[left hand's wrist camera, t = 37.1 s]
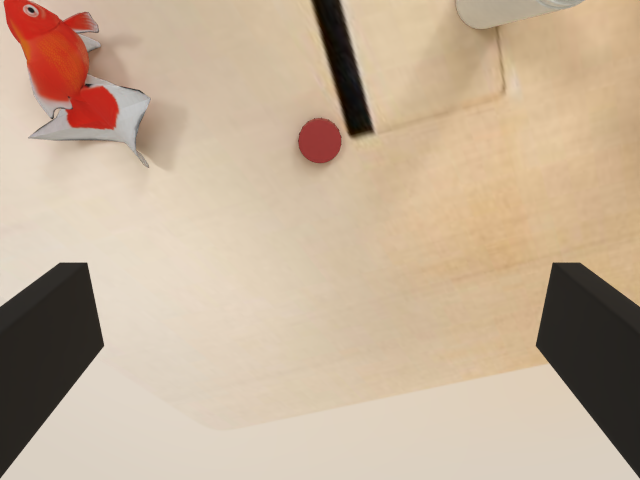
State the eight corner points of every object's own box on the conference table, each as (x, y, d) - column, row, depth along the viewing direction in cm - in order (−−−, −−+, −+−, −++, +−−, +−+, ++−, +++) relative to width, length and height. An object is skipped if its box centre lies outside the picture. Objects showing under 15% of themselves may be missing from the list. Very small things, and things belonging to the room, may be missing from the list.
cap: (337, 114, 43) (338, 115, 41) (343, 156, 45) (344, 159, 43) (295, 121, 43) (294, 123, 42) (303, 163, 45) (302, 167, 43)
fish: (125, -39, 34) (42, 16, 28) (203, 132, 45) (156, 198, 39) (23, -21, 38) (-71, 31, 32) (119, 134, 49) (63, 195, 43)
